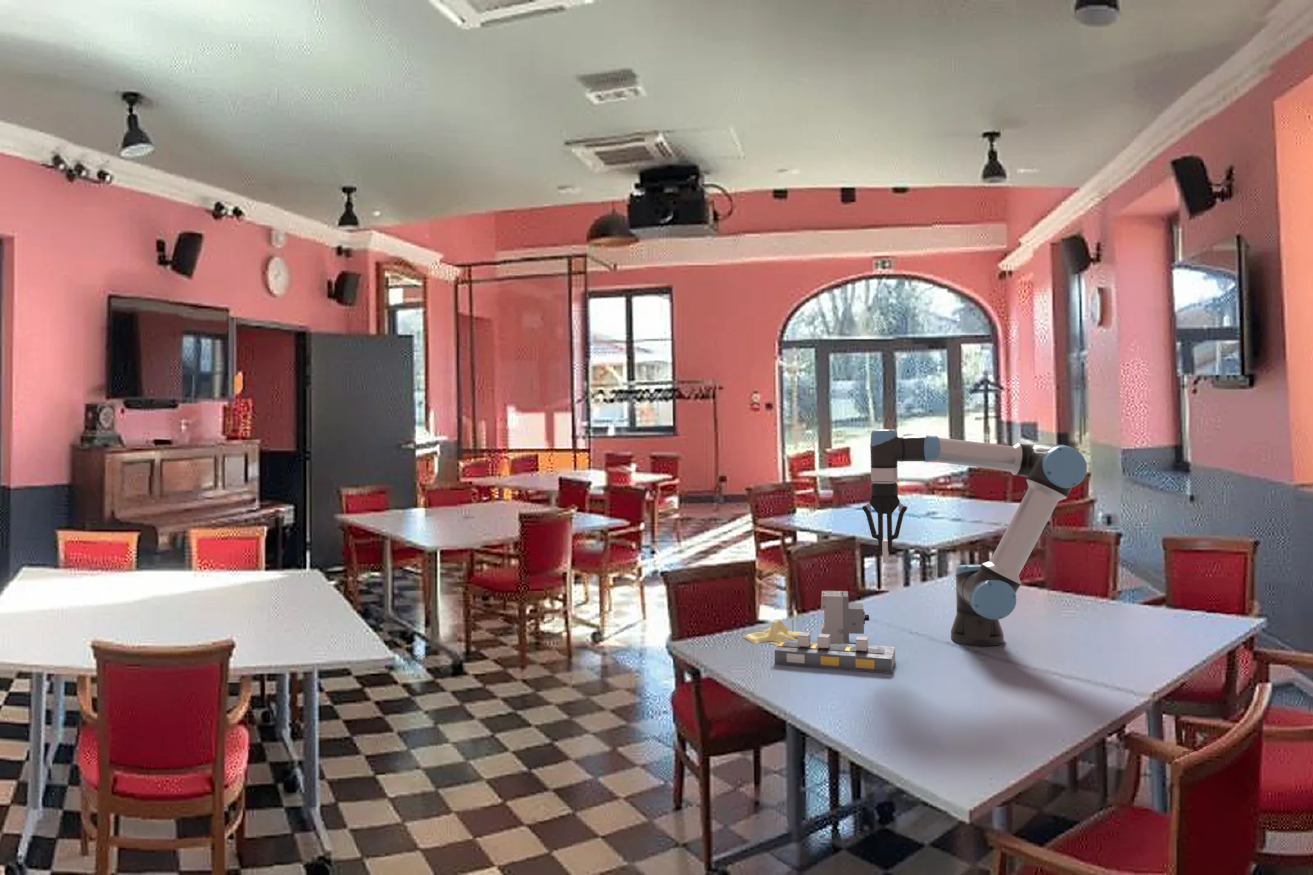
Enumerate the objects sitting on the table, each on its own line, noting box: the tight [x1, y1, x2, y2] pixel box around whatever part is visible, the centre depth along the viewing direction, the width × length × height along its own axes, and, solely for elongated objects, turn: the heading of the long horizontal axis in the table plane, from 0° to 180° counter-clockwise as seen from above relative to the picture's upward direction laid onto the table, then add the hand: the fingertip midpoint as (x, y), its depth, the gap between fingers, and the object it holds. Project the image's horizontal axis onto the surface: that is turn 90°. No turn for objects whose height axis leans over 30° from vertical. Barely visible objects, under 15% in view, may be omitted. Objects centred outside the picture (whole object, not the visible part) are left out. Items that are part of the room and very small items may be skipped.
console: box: [774, 639, 896, 675], centre depth 238 cm, size 32×12×4 cm, turn 70°
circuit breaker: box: [820, 590, 870, 644], centre depth 259 cm, size 8×14×15 cm, turn 78°
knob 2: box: [817, 633, 830, 648], centre depth 239 cm, size 3×4×3 cm
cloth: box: [742, 619, 805, 646], centre depth 265 cm, size 22×19×6 cm
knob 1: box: [797, 631, 812, 647], centre depth 241 cm, size 3×4×3 cm
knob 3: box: [855, 635, 869, 651], centre depth 236 cm, size 3×4×3 cm
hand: (885, 562), depth 247 cm, fingers closed
